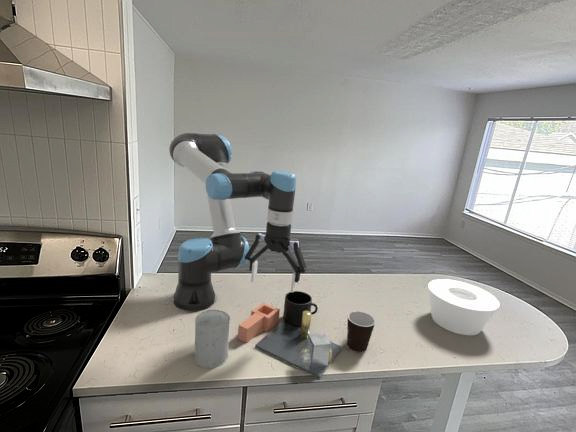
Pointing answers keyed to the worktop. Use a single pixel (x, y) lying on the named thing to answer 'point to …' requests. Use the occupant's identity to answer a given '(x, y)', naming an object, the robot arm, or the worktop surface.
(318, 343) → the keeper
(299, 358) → the dark grey rectangular mat
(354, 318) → the coffee mug
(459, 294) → the bowl
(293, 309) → the mug
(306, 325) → the post
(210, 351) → the white marble cylinder
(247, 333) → the link
